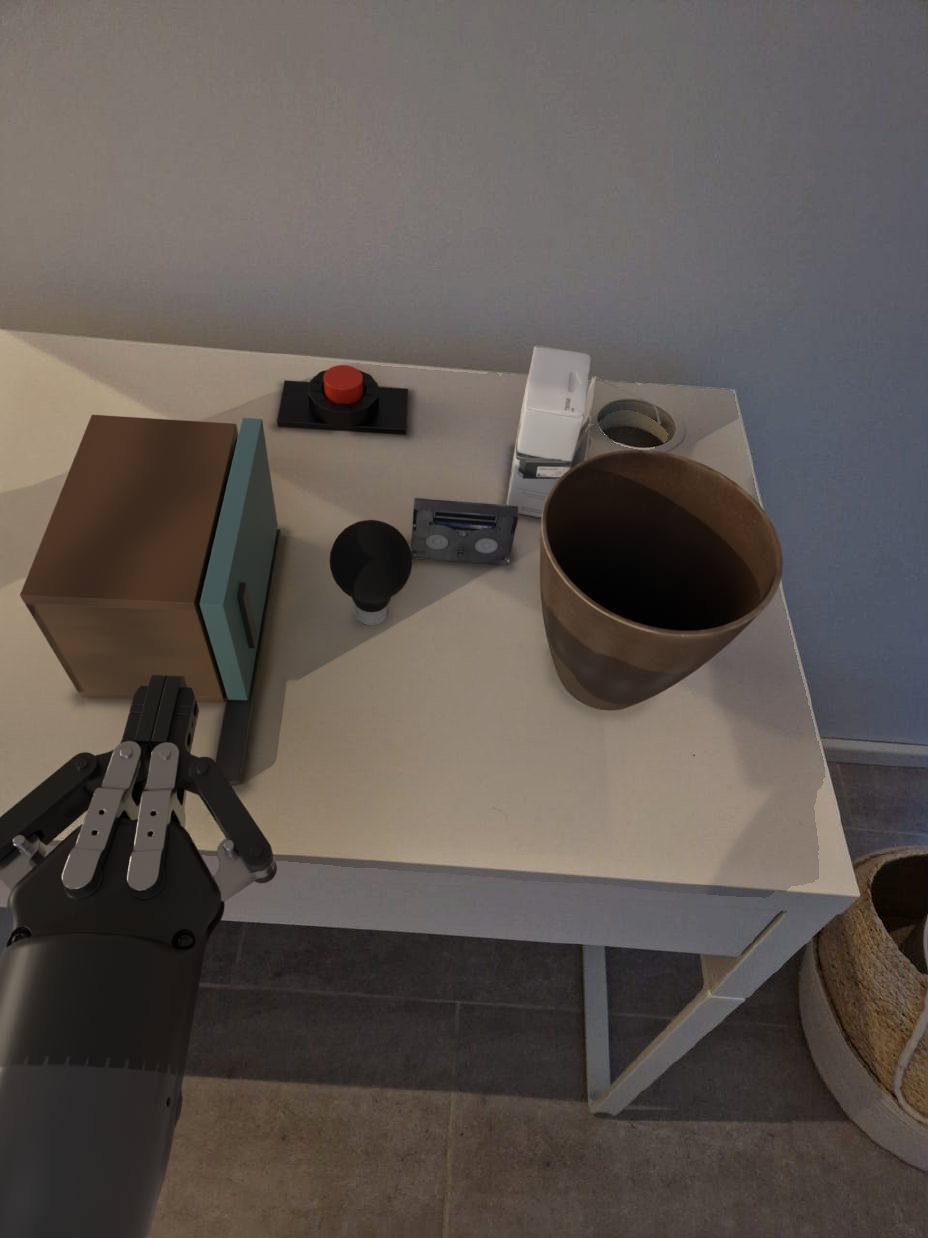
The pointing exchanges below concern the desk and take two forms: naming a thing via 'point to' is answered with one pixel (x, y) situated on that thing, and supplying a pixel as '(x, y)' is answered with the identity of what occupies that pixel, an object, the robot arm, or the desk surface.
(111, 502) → the cabinet
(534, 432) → the ink box
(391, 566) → the light bulb
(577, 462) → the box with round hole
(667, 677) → the plant pot
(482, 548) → the mini dv tape
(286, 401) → the button box
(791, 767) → the desk surface
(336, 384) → the button
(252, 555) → the door
